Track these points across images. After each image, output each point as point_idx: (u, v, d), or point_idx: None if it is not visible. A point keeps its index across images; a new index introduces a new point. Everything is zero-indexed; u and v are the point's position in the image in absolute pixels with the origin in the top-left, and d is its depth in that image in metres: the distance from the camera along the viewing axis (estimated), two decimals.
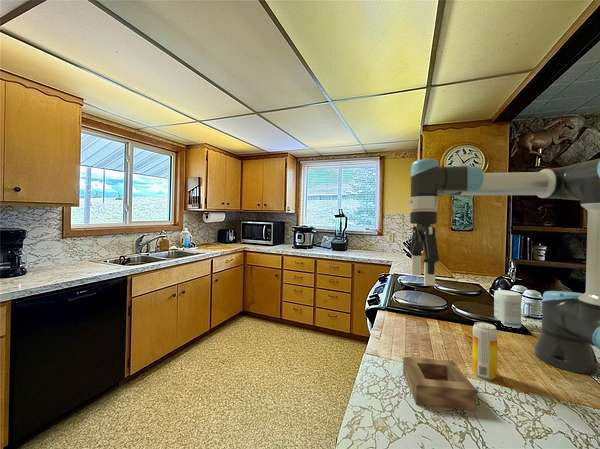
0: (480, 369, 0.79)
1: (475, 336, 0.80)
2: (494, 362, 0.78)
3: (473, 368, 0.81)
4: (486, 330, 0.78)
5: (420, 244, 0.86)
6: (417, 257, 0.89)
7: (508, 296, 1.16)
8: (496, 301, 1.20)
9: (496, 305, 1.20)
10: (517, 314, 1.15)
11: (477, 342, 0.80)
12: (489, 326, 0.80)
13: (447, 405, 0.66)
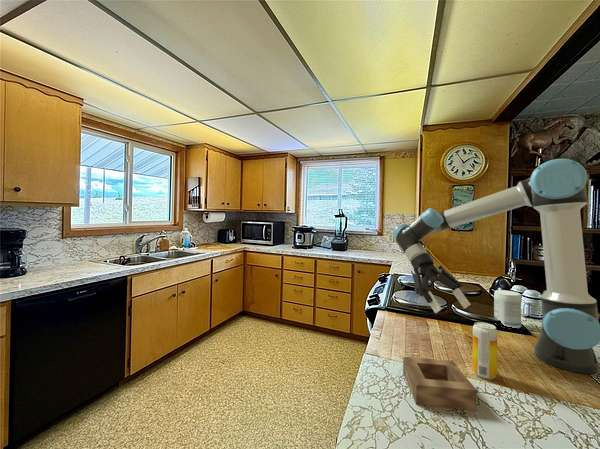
0: (480, 369, 0.79)
1: (475, 336, 0.80)
2: (494, 362, 0.78)
3: (473, 368, 0.81)
4: (486, 330, 0.78)
5: (443, 280, 0.98)
6: (456, 290, 0.97)
7: (508, 296, 1.16)
8: (496, 301, 1.20)
9: (496, 305, 1.20)
10: (517, 314, 1.15)
11: (477, 342, 0.80)
12: (489, 326, 0.80)
13: (447, 405, 0.66)
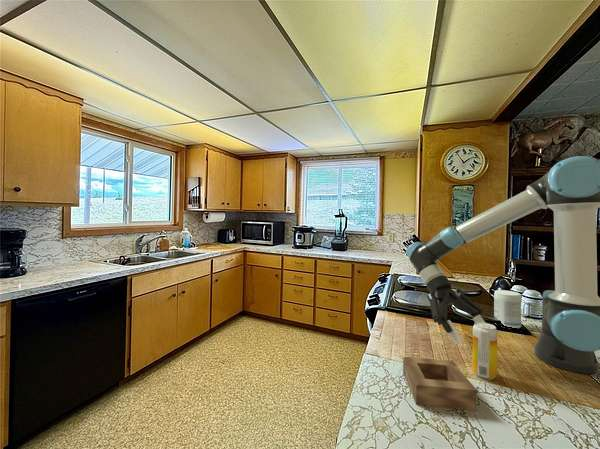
0: (480, 369, 0.79)
1: (475, 336, 0.80)
2: (494, 362, 0.78)
3: (473, 368, 0.81)
4: (486, 330, 0.78)
5: (463, 305, 0.91)
6: (476, 317, 0.89)
7: (508, 296, 1.16)
8: (496, 301, 1.20)
9: (496, 305, 1.20)
10: (517, 314, 1.15)
11: (477, 342, 0.80)
12: (489, 326, 0.80)
13: (447, 405, 0.66)
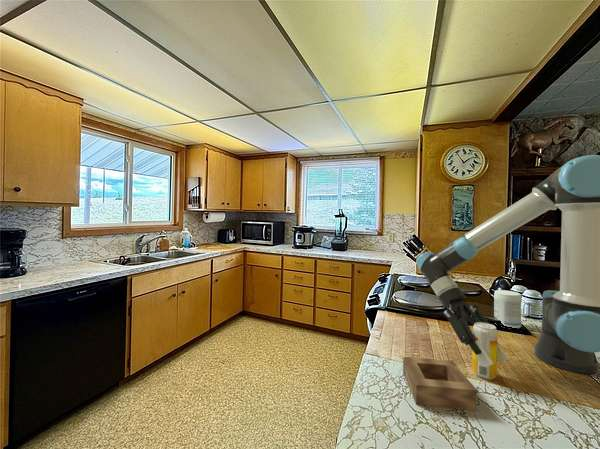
0: (480, 369, 0.79)
1: (475, 336, 0.80)
2: (494, 362, 0.78)
3: (473, 368, 0.81)
4: (486, 330, 0.78)
5: (475, 322, 0.85)
6: None
7: (508, 296, 1.16)
8: (496, 301, 1.20)
9: (496, 305, 1.20)
10: (517, 314, 1.15)
11: None
12: (489, 326, 0.80)
13: (447, 405, 0.66)
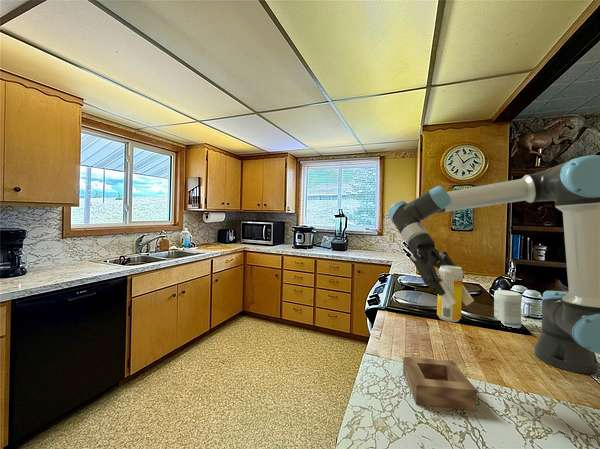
0: (444, 311, 0.75)
1: (440, 277, 0.77)
2: (458, 303, 0.74)
3: (437, 311, 0.78)
4: (450, 270, 0.75)
5: None
6: None
7: (508, 296, 1.16)
8: (496, 301, 1.20)
9: (496, 305, 1.20)
10: (517, 314, 1.15)
11: None
12: (455, 267, 0.77)
13: (447, 405, 0.66)
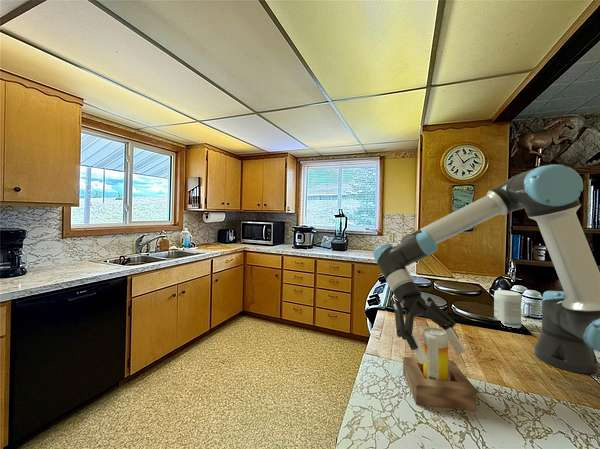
0: None
1: (424, 343, 0.73)
2: (444, 371, 0.71)
3: None
4: (434, 336, 0.71)
5: (433, 316, 0.79)
6: (448, 331, 0.77)
7: (508, 296, 1.16)
8: (496, 301, 1.20)
9: (496, 305, 1.20)
10: (517, 314, 1.15)
11: (426, 350, 0.72)
12: (439, 332, 0.73)
13: (447, 405, 0.66)
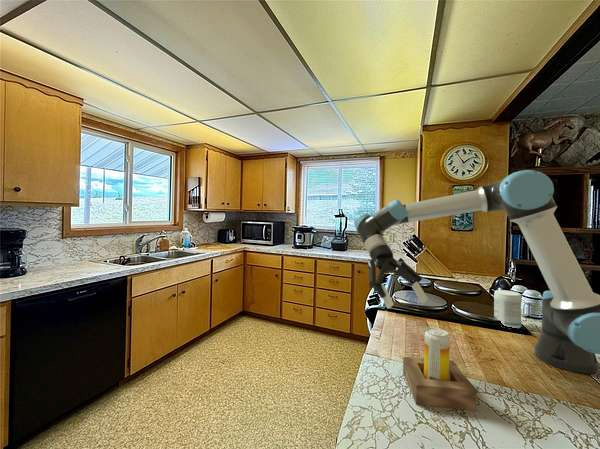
0: None
1: (426, 343, 0.73)
2: (445, 372, 0.71)
3: None
4: (436, 337, 0.71)
5: (402, 273, 0.92)
6: (414, 284, 0.90)
7: (508, 296, 1.16)
8: (496, 301, 1.20)
9: (496, 305, 1.20)
10: (517, 314, 1.15)
11: (428, 350, 0.72)
12: (441, 332, 0.73)
13: (447, 405, 0.66)
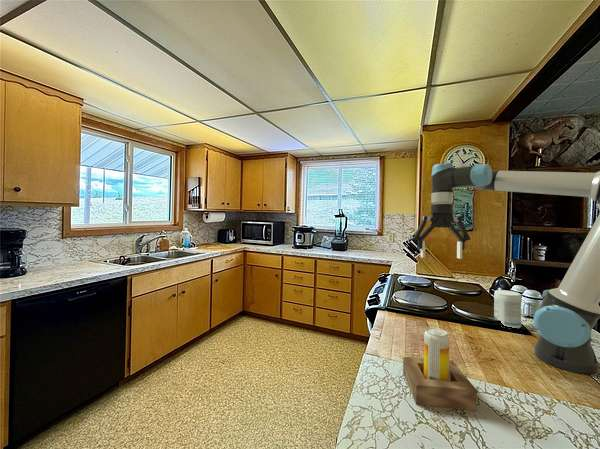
0: None
1: (426, 343, 0.73)
2: (445, 372, 0.71)
3: None
4: (436, 337, 0.71)
5: (452, 231, 1.04)
6: (458, 242, 1.04)
7: (508, 296, 1.16)
8: (496, 301, 1.20)
9: (496, 305, 1.20)
10: (517, 314, 1.15)
11: (427, 350, 0.72)
12: (441, 332, 0.73)
13: (447, 405, 0.66)
